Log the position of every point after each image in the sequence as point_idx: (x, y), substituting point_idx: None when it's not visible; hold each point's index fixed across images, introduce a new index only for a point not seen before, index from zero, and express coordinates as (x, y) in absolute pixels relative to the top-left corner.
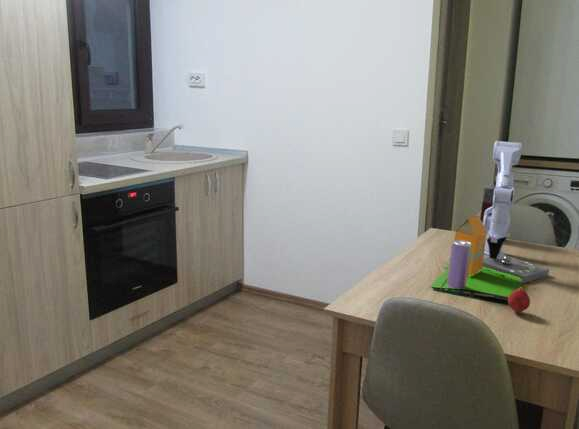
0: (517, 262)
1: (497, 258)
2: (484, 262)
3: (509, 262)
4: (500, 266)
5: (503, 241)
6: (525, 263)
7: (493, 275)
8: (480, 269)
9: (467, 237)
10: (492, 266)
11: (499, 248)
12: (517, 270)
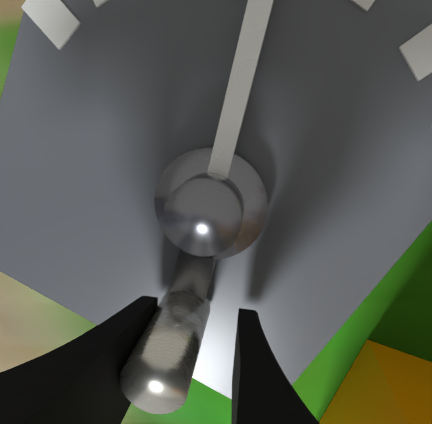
0: (105, 104)
1: (183, 288)
2: (295, 363)
3: (248, 181)
4: (342, 247)
5: (39, 420)
6: (84, 22)
7: (410, 263)
8: (395, 363)
9: None
10: (354, 304)
11: (308, 410)
12: (400, 84)
